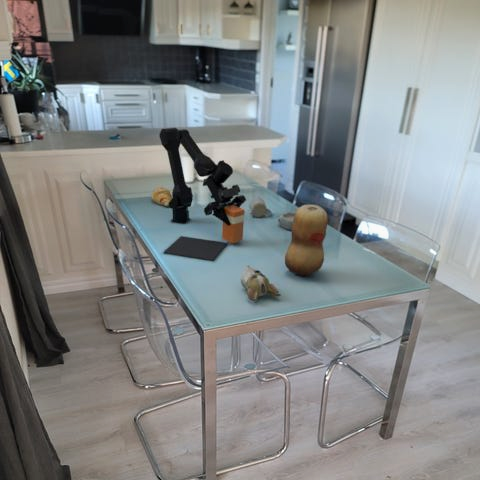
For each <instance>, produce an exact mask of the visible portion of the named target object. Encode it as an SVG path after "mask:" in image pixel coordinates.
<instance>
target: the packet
mask: <svg viewBox="0 0 480 480" xmlns="http://www.w3.org/2000/svg"><path fill="white" fill-rule="evenodd" d="M225 213H226V215H227V217H228V219H229V221H230V224H231V225H230V226H228V225H227V224H226V223H224V222H223V221H222V228H221V239H223V240H225V241H227V242H229V243H230V244H235V243H239V242H241V241H243V240H244V239H243V237H244V223H245V209H244V208H241V207H240V208H239V207H237V206H235V205H231V206H228V207H225Z"/></svg>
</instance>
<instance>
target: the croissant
mask: <svg viewBox="0 0 480 480" xmlns="http://www.w3.org/2000/svg"><path fill="white" fill-rule="evenodd" d="M150 197H151V198H150V199H151V200H152V202H154V203H155V204H159V205H160V206H164V207H169V202H170V201H171V199H172V198H173V196H172V192H171V191H170V190H169V189H167V188H165V187H158V188H156V189H154V190H153V191H152V193H151V196H150Z"/></svg>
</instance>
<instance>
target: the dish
mask: <svg viewBox="0 0 480 480" xmlns="http://www.w3.org/2000/svg"><path fill="white" fill-rule="evenodd" d="M295 212H296V211H287V212H283V213H281V214H280V216H278V218H277V222H278V223H279V226H280V227H281V228H283V229H286V230H289V231H292V223H293V219H294V215H295Z"/></svg>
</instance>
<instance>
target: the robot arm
mask: <svg viewBox="0 0 480 480" xmlns="http://www.w3.org/2000/svg"><path fill="white" fill-rule="evenodd" d="M159 140H160V142H161V146H162V147H163V148H164V149H165V151H166V152H167V157H168V163H169V167H170V172H171V177H172V181H173V189H172V192H171V196H172V199H171V201H170V202H169V206H168V207H169V209H172V219H171V222H172V223H179V224H186V223H187V222H188V221H189V220H190V210H189V208H191V206H192V203H193V200H194V199H193V197H194V194H193V190H192V188H191V187H192V186H188V185H187V183H186V180H185V174H184V167H183V164H182V158H181V155H180V147H181V146H182V147H183V149H184V150H185V152H186V153H187V154H188V156H189V157H190V159H191V160H192V162H193V168H194V170H195V172H196V174H197V175H198V176H199V177H200V178H204V177H206V178H204V179H203V182H202V187H206V186H207V188H208V190H209V192H210V198H211V199H213V200H214V201H212V202H209V203H208V204H206V206H205V207H204V208H203V212H204V215H205V216H206V217H207V216H210V215H211V216H212V217H215V218H217V219H218V220H219V221H222V223H223V222H224V223H226V224H227V225H228V226H230V225H231V224H230V221H229V219H228V217H227V215H226V213H225V207H228V206H231V205H235V206H237V207H239V208H241V206H242V205H243V204H244V203H245V202H246V201H247V199H246V196H245V195H243V194H240V195H239V193H241V188H240V186H239V184H234V185H232V186H231V187H230V188H228V187H227V186H224V183H226V181H228V179H229V178H230V177H231V176H232V175H233V173H234V169H233V167H232V166H231V165H230V163H228V162H226V161H225V160H224V159H223V160H219V161H218V162H217V164H216V162H215V161H213V159H212V158H211V157H210V156H208V155H206V154H204V153H203V151H202V150H201V148H200V147H199V146H198V145H197V143H196V141H195V140H194V138H193V137H192V135H190V131H189V130H188V129H186V128H183V129H182V128H181V129H178V128H177V127H165V128H161V130H160V132H159Z"/></svg>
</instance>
